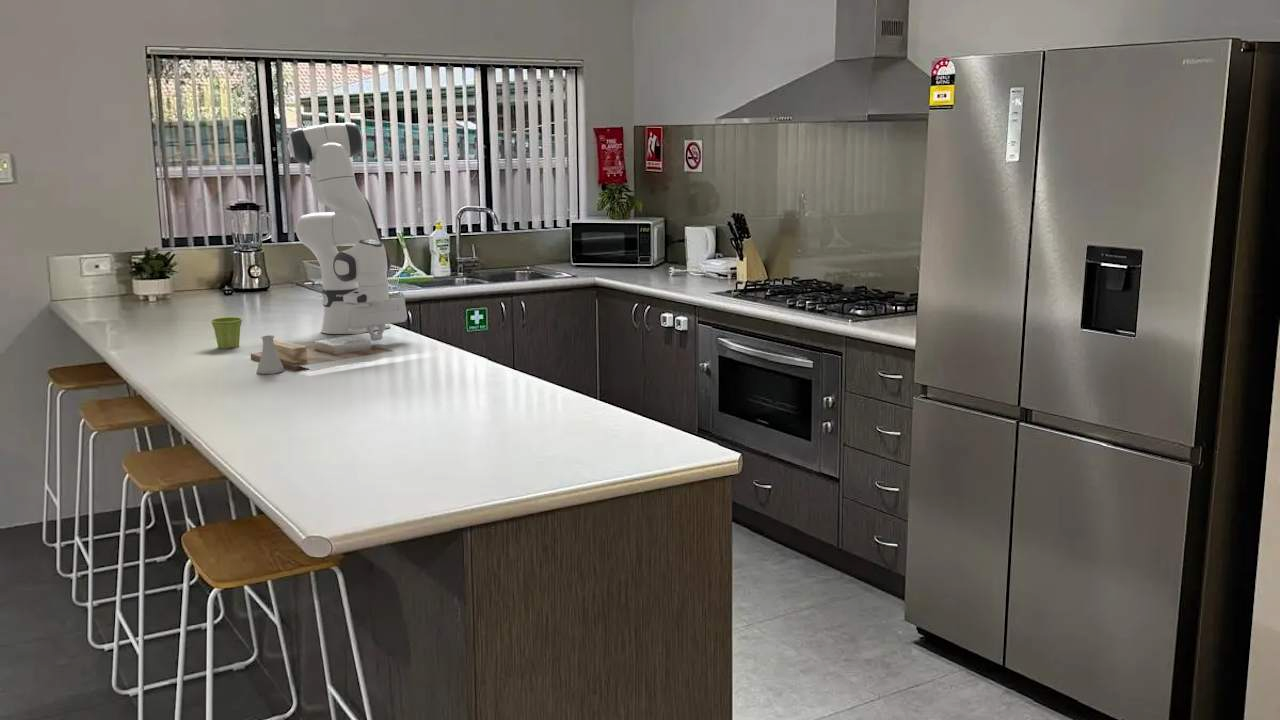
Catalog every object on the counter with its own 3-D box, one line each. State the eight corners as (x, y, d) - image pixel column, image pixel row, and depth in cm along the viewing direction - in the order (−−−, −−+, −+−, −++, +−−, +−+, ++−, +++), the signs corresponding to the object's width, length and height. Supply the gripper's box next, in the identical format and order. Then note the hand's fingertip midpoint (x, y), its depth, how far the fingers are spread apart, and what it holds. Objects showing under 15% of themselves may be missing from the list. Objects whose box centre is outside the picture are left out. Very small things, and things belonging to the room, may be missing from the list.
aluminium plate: (351, 344, 348) (350, 335, 347) (371, 348, 339) (371, 340, 338) (314, 349, 340) (313, 341, 339) (334, 354, 331) (333, 345, 330)
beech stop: (277, 352, 335) (276, 339, 334) (307, 360, 322) (306, 346, 321) (264, 354, 332) (263, 341, 332) (294, 362, 319) (292, 348, 319)
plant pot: (250, 344, 359) (247, 316, 357) (236, 350, 350) (234, 321, 348) (221, 344, 360) (218, 317, 358) (207, 350, 351) (204, 321, 349)
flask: (276, 375, 311) (273, 338, 309) (251, 374, 312) (248, 338, 310) (289, 369, 318) (286, 334, 316) (265, 369, 319) (262, 333, 317)
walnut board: (347, 344, 356) (346, 339, 355) (395, 355, 335) (394, 350, 335) (250, 358, 335) (250, 353, 335) (296, 371, 315) (295, 366, 314)
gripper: (398, 289, 353) (401, 334, 356) (338, 296, 339) (341, 343, 342) (409, 291, 349) (412, 336, 351) (348, 298, 335) (351, 345, 338)
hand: (376, 340), depth 347 cm, fingers closed
